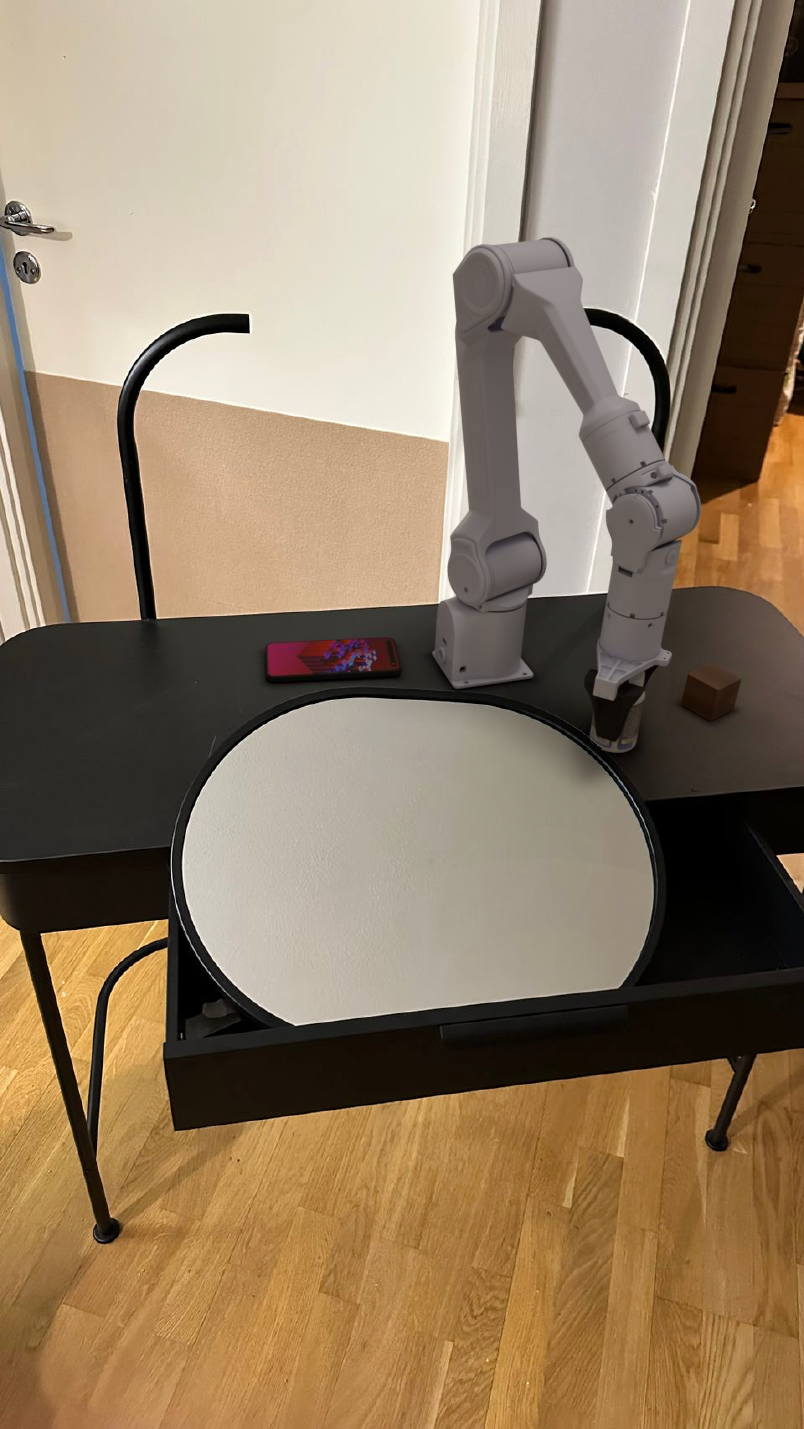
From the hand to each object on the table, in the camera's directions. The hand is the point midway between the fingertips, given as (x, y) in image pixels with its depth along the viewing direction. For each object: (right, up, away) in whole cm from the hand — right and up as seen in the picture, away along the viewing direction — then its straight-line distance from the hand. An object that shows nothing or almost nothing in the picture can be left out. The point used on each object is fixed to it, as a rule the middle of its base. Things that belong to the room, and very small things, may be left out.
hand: (615, 724), depth 99 cm
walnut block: (+11, +2, +7) cm, 13 cm away
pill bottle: (0, -2, +1) cm, 2 cm away
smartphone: (-29, +7, +12) cm, 33 cm away
